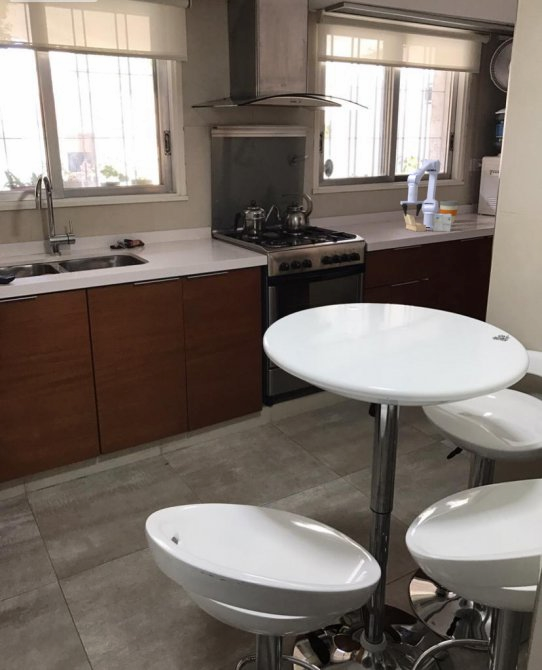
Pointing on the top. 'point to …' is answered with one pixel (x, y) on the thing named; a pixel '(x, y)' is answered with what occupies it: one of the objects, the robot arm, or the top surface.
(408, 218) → the lid
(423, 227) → the carton
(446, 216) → the light bulb box
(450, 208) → the reusable coffee cup
